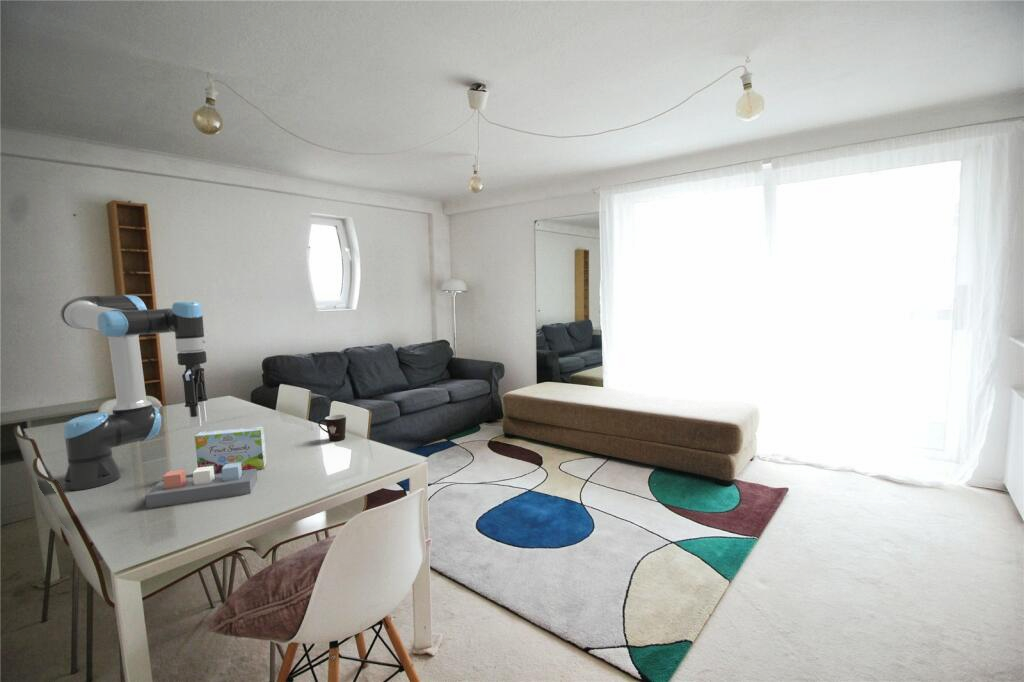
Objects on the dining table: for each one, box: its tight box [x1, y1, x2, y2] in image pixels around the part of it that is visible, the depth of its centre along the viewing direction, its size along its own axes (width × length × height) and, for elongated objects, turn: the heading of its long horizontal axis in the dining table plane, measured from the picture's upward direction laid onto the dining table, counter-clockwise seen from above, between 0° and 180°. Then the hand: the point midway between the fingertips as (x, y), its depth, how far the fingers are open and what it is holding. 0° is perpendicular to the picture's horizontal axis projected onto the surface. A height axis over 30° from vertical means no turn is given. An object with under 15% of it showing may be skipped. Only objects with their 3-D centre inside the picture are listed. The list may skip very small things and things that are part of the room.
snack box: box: [194, 426, 268, 474], centre depth 175 cm, size 21×6×15 cm, turn 105°
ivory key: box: [192, 466, 215, 485], centre depth 155 cm, size 5×5×4 cm
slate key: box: [222, 462, 242, 481], centre depth 157 cm, size 5×5×4 cm
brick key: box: [162, 468, 187, 489], centre depth 152 cm, size 5×5×4 cm
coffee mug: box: [318, 414, 347, 443], centre depth 210 cm, size 12×9×10 cm
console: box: [145, 469, 258, 509], centre depth 155 cm, size 28×12×4 cm, turn 109°
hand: (198, 423), depth 153 cm, fingers open, 5 cm apart
